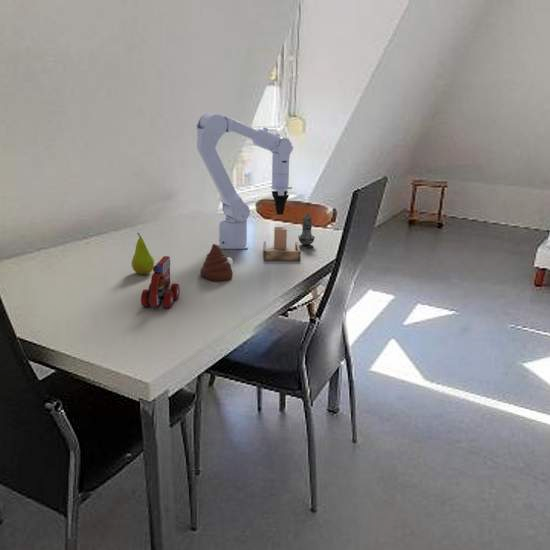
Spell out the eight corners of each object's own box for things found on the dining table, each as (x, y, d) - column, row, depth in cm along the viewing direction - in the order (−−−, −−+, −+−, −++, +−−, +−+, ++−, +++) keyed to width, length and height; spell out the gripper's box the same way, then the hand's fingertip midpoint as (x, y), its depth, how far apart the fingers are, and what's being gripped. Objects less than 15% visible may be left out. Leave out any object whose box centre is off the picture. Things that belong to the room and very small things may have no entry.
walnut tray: (263, 260, 152) (264, 251, 151) (263, 250, 164) (263, 241, 163) (300, 260, 153) (300, 251, 152) (297, 250, 164) (297, 241, 163)
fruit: (159, 272, 139) (157, 231, 135) (144, 278, 134) (141, 236, 130) (143, 268, 142) (140, 228, 139) (127, 274, 137) (123, 232, 133)
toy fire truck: (138, 312, 112) (135, 269, 109) (155, 293, 124) (152, 253, 121) (167, 313, 112) (165, 270, 108) (182, 294, 123) (180, 255, 120)
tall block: (274, 249, 164) (274, 229, 162) (274, 246, 168) (274, 226, 166) (286, 249, 165) (286, 229, 162) (285, 246, 168) (286, 226, 166)
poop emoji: (194, 275, 138) (193, 243, 135) (218, 269, 143) (218, 238, 140) (214, 284, 131) (214, 251, 128) (239, 278, 136) (239, 245, 133)
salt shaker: (308, 250, 165) (310, 215, 161) (294, 247, 168) (295, 212, 164) (317, 246, 169) (319, 212, 165) (303, 243, 173) (305, 210, 169)
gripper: (293, 176, 161) (292, 217, 165) (290, 171, 174) (289, 208, 179) (272, 176, 160) (271, 216, 165) (270, 170, 174) (270, 208, 178)
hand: (279, 212), depth 172 cm, fingers open, 5 cm apart
